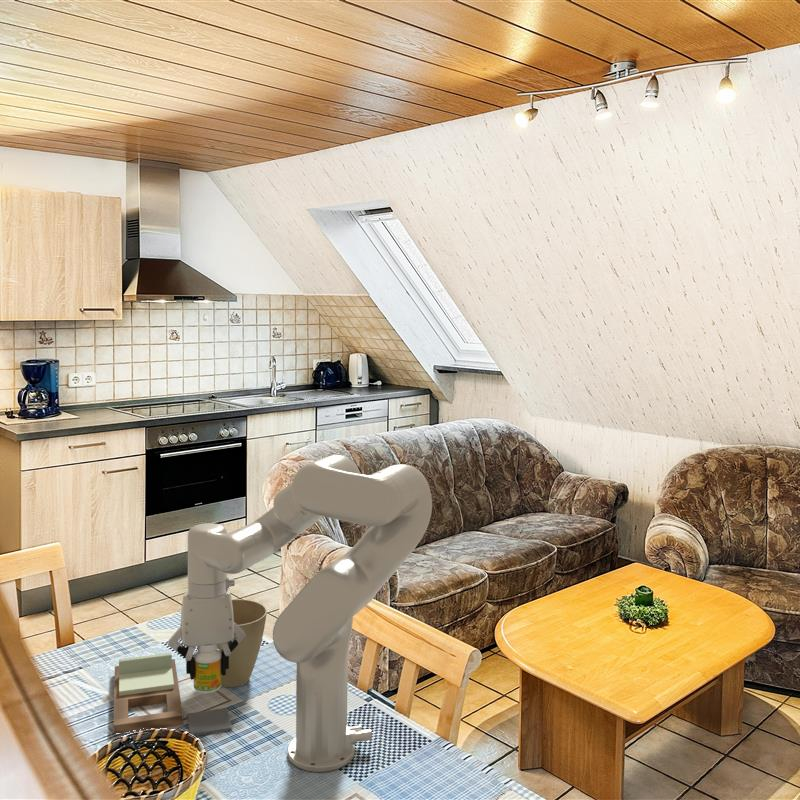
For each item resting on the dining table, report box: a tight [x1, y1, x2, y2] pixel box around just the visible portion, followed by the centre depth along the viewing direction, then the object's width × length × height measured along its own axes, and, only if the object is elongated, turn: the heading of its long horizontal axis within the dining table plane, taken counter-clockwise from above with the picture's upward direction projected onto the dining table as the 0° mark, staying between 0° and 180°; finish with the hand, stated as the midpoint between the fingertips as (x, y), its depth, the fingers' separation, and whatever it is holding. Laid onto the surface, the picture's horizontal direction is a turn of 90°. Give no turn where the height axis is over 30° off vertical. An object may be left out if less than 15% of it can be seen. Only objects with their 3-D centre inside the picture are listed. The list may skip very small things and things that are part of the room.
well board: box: [113, 658, 184, 735], centre depth 168 cm, size 13×26×2 cm, turn 19°
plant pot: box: [217, 598, 268, 688], centre depth 176 cm, size 15×15×16 cm
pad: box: [186, 707, 233, 737], centre depth 159 cm, size 8×8×1 cm
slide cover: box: [118, 652, 174, 696], centre depth 171 cm, size 11×9×4 cm
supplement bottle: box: [193, 644, 222, 695], centre depth 158 cm, size 5×5×10 cm
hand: (207, 673), depth 158 cm, fingers closed on supplement bottle, 5 cm apart
